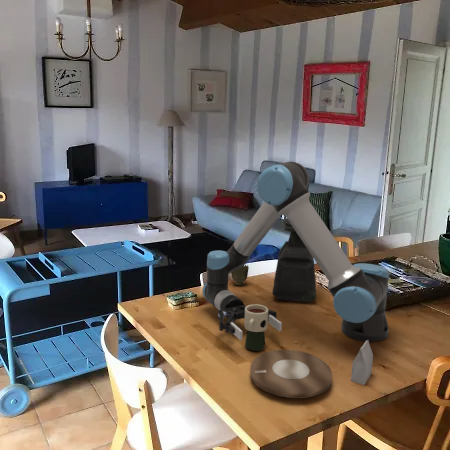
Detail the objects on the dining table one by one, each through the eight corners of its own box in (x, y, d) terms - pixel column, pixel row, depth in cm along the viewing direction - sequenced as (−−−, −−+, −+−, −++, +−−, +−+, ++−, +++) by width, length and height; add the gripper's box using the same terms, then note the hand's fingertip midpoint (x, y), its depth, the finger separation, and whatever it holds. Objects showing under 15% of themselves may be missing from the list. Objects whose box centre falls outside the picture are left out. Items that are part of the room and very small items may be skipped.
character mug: (260, 358, 145) (262, 317, 142) (238, 353, 147) (239, 313, 144) (271, 342, 155) (273, 304, 151) (250, 337, 157) (251, 300, 154)
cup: (246, 288, 198) (247, 270, 196) (228, 287, 200) (229, 268, 198) (249, 282, 205) (250, 264, 203) (232, 280, 207) (232, 262, 205)
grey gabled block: (371, 373, 138) (374, 341, 135) (364, 385, 132) (367, 351, 130) (358, 370, 139) (361, 338, 137) (350, 380, 134) (353, 347, 131)
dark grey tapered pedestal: (274, 285, 203) (277, 215, 195) (314, 288, 200) (319, 217, 193) (272, 302, 185) (275, 225, 178) (315, 305, 183) (321, 228, 176)
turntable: (313, 351, 146) (314, 346, 146) (345, 393, 125) (345, 387, 125) (242, 357, 142) (242, 352, 141) (262, 402, 121) (262, 396, 120)
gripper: (261, 309, 171) (295, 334, 153) (195, 321, 160) (223, 351, 142) (261, 289, 169) (296, 312, 151) (195, 300, 158) (224, 327, 140)
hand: (261, 331), depth 146 cm, fingers open, 13 cm apart
